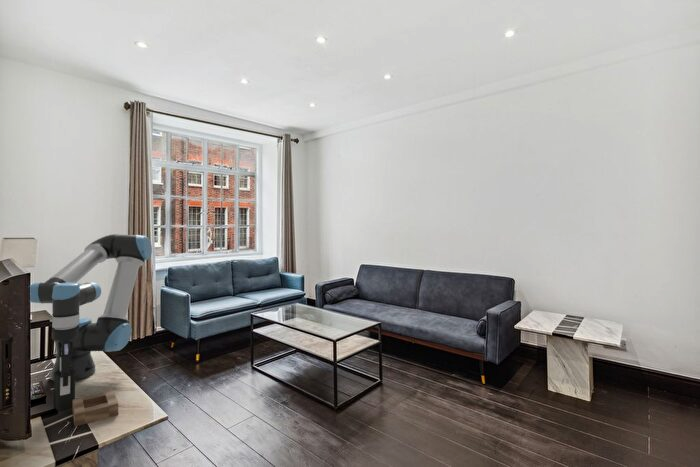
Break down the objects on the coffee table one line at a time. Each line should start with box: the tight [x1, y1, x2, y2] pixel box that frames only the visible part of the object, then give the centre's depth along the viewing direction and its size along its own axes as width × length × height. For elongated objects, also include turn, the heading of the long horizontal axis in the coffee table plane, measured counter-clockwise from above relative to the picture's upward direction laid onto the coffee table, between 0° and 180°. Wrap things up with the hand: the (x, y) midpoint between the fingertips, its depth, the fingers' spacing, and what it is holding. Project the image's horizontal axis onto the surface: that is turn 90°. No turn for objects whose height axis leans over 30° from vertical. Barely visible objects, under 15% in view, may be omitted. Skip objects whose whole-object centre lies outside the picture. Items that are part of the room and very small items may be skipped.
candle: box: [53, 353, 76, 412], centre depth 125 cm, size 5×5×25 cm
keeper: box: [71, 389, 119, 427], centre depth 123 cm, size 12×12×4 cm
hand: (64, 390), depth 126 cm, fingers closed on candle, 6 cm apart
